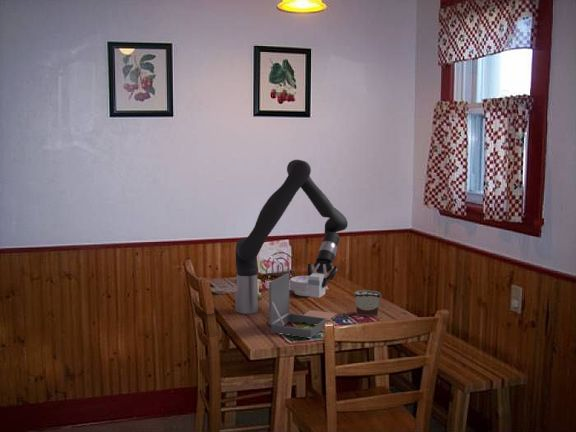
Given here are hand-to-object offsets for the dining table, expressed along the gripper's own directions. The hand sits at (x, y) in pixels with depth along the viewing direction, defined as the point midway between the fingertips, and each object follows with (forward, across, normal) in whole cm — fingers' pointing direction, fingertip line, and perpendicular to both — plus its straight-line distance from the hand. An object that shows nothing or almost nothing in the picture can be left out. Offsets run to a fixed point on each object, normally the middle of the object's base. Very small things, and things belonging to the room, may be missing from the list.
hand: (316, 285), depth 284 cm
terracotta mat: (+10, 0, +10) cm, 14 cm away
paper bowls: (-13, -20, +34) cm, 42 cm away
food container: (-1, +18, +22) cm, 28 cm away
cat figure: (-7, -43, +28) cm, 52 cm away
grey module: (+3, 0, +3) cm, 4 cm away
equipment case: (+23, 0, -3) cm, 23 cm away
